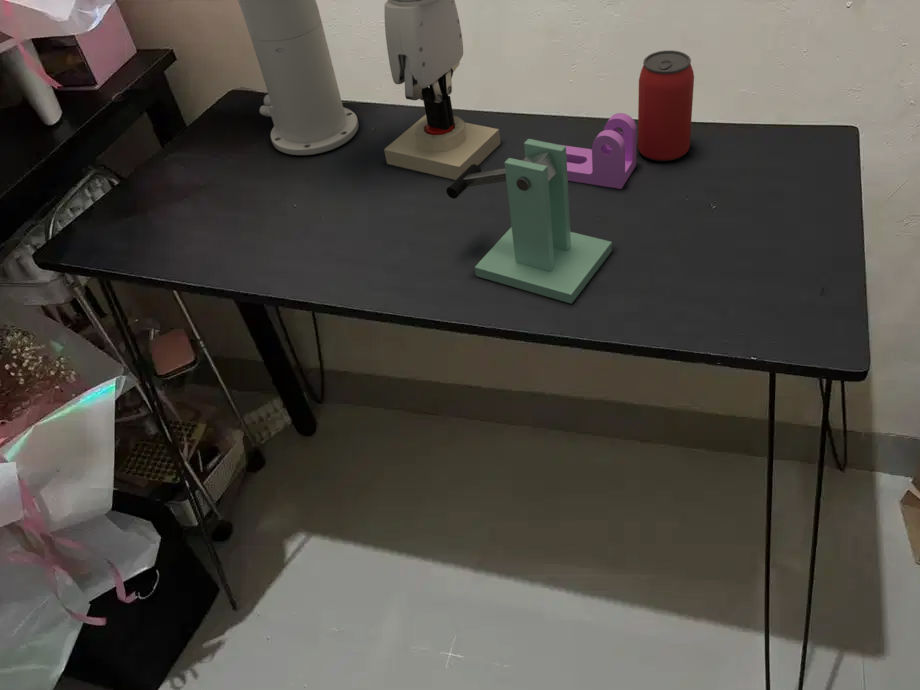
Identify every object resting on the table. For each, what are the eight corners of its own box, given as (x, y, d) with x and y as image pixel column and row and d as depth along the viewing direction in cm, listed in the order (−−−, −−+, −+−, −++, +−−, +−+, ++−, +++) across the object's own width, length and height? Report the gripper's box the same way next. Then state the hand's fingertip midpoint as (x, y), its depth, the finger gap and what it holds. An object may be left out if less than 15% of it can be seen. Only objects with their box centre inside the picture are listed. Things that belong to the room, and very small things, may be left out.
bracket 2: (636, 165, 106) (636, 115, 101) (621, 189, 103) (621, 137, 98) (541, 151, 111) (538, 102, 106) (524, 173, 107) (520, 123, 102)
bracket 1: (475, 276, 93) (458, 167, 84) (519, 227, 99) (508, 120, 89) (571, 304, 88) (565, 192, 79) (612, 251, 94) (611, 140, 84)
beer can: (631, 160, 107) (632, 70, 98) (645, 134, 111) (647, 46, 103) (682, 166, 105) (688, 75, 96) (694, 140, 109) (701, 50, 100)
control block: (387, 163, 113) (381, 137, 110) (428, 128, 118) (423, 102, 115) (461, 181, 108) (457, 153, 105) (500, 143, 113) (497, 116, 110)
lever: (451, 203, 91) (442, 184, 90) (475, 179, 94) (466, 160, 93) (540, 191, 83) (531, 170, 82) (563, 166, 86) (554, 145, 85)
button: (422, 141, 111) (420, 129, 110) (437, 128, 113) (435, 116, 112) (445, 146, 109) (443, 134, 108) (459, 133, 111) (457, 121, 110)
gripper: (425, -45, 103) (448, 95, 116) (352, 2, 94) (385, 148, 107) (477, -40, 100) (494, 103, 112) (406, 9, 91) (433, 159, 104)
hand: (441, 125), depth 110 cm, fingers closed
